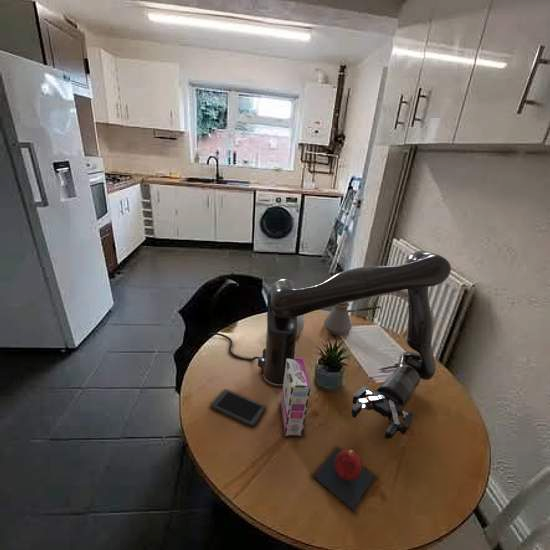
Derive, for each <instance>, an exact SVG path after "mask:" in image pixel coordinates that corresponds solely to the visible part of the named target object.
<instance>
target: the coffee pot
mask: <svg viewBox="0 0 550 550" xmlns="http://www.w3.org/2000/svg"><path fill="white" fill-rule="evenodd" d="M349 307H350V302H348V303H343V304H339V305H335V306H333V308H332V309H331V310H330V312H329V313H328V314H327V316H326V317H325V319H324V320H323V325H324V326H323V327H324V328H325V330H327V332H329V333H330V334H331V335H334V336H344V335H346V334H348V333H349V332H350V331H351V330H352V322H351V319H350V314H349V313H354V312H365V311H371V310H376V309H379V310H380V312H382V306H380V305H377V306H375V305H374V306H367V307H360V308H355V309H348V308H349Z"/></svg>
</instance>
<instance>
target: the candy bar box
mask: <svg viewBox="0 0 550 550" xmlns="http://www.w3.org/2000/svg"><path fill="white" fill-rule="evenodd" d="M311 388H312V387H311V383H310V380H309V375H308V373H307V369H306V365H305V360H304V358H294V359H286V367H285V375H284V383H283V386H282V392H281V398H280V399H281V400H280V408H281V409H280V410H281V416H282V424H283V431H284V437H302V436H303V435H304V427H305V422H306V416H307V410H308V404H309V398H310V392H311Z"/></svg>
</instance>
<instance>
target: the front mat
mask: <svg viewBox="0 0 550 550" xmlns="http://www.w3.org/2000/svg"><path fill="white" fill-rule="evenodd" d="M341 451H342V450H340V449H339V448H336V449H335V451H333V452H332V454H331V455H330V457H328V459H327V460H326V461H325V462H324V464H323V465H322V466H321V467H320V469H319V470H318V471H317V472H316V473H315V474H314V476H313V478H314V479H315V480H316V481H318V482H319V483H320V484H321V485H322V486H323V487H325V489H327V490H328V491H329V492H330V493H332V494H333V495H334V496H335V497H337V499H339V500H340V502H342V503H343V504H344V505H346V506H347V507H348V508H349V509H350V510H352V511H354V510H355V508H356V506H357V505H358V504H359V502H360V501H361V499H362V497H363V496H364V494H365V493H366V491H367V489H368V488H369V486H370V485H371V483H372V481H373V480H374V478H375V475H373V473H371V472H369V471H368V470H366V469H365V468H364V467H362V466H361V471H360V474H359V476H358V477H357V478H356V479H355V480H351V481H346V480H344V479H342V478H341V477H340V476H339V475H338V473H337V472H336V469H335V459H336V456H337V454H338V453H339V452H341Z"/></svg>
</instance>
